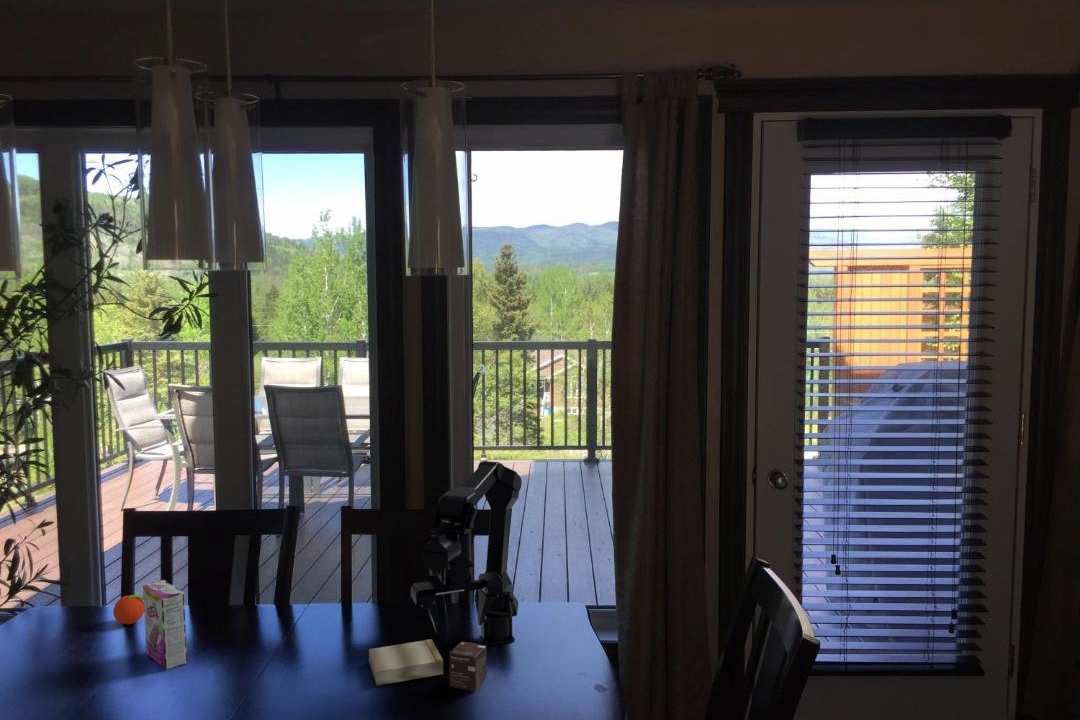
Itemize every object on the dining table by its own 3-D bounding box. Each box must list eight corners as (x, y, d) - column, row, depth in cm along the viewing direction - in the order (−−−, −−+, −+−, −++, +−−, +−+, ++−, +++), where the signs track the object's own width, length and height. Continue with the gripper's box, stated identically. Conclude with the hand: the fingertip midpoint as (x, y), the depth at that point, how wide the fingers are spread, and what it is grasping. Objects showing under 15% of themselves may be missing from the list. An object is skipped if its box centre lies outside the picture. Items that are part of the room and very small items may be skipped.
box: (448, 687, 160) (447, 652, 159) (461, 674, 165) (460, 640, 165) (475, 692, 158) (474, 657, 157) (487, 678, 163) (487, 644, 163)
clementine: (152, 615, 197) (151, 588, 196) (146, 626, 190) (145, 598, 190) (117, 619, 195) (116, 591, 194) (110, 630, 188) (109, 602, 188)
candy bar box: (144, 656, 174) (141, 584, 173) (167, 648, 178) (164, 578, 177) (164, 671, 167) (161, 597, 166) (188, 663, 171) (185, 591, 169)
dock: (432, 652, 175) (431, 638, 175) (443, 674, 165) (443, 659, 165) (369, 662, 171) (368, 648, 170) (376, 685, 160) (376, 670, 160)
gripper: (488, 538, 171) (489, 607, 172) (404, 549, 164) (405, 620, 165) (505, 553, 161) (505, 626, 162) (416, 565, 154) (417, 641, 155)
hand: (458, 628), depth 161 cm, fingers open, 9 cm apart
